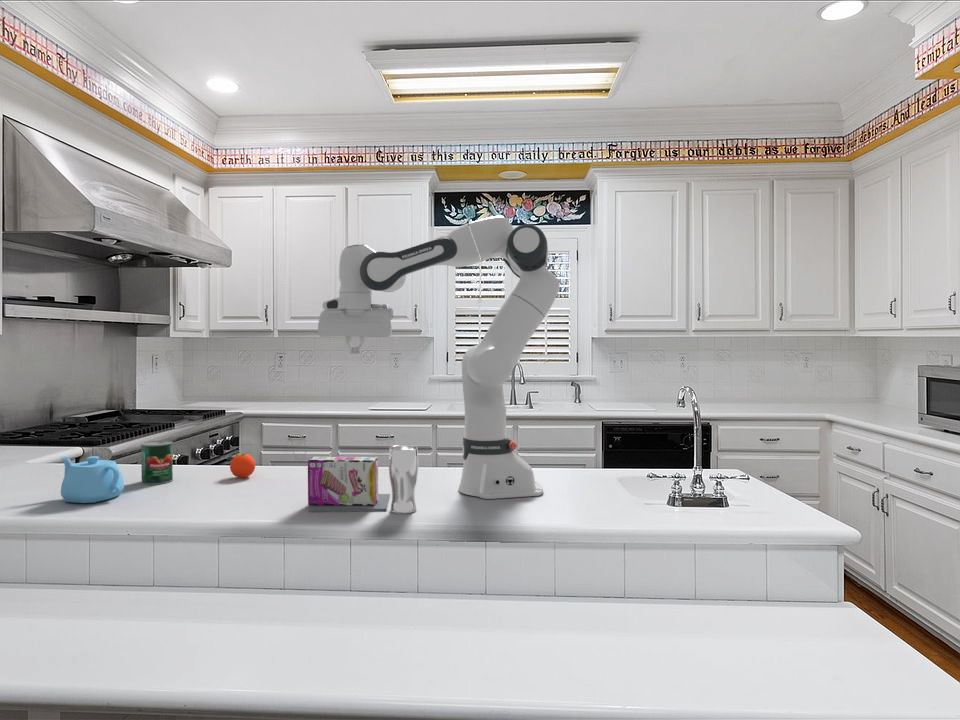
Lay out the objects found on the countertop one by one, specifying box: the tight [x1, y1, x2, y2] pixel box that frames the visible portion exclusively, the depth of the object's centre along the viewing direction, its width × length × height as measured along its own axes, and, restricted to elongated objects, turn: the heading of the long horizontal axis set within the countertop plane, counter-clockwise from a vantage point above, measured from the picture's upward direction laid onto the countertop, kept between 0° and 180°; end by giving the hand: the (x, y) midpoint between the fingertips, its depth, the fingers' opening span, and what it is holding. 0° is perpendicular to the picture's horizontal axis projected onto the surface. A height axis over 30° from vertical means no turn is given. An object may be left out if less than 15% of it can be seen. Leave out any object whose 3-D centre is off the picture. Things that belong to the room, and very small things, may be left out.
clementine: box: [229, 453, 256, 479], centre depth 184 cm, size 8×7×7 cm
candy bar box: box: [307, 456, 379, 506], centre depth 154 cm, size 11×5×16 cm
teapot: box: [60, 455, 125, 504], centre depth 159 cm, size 13×11×18 cm
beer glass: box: [388, 444, 419, 515], centre depth 150 cm, size 7×7×15 cm
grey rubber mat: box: [308, 493, 391, 513], centre depth 156 cm, size 18×14×1 cm
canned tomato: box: [140, 439, 174, 486], centre depth 178 cm, size 8×8×11 cm
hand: (355, 353), depth 177 cm, fingers closed
